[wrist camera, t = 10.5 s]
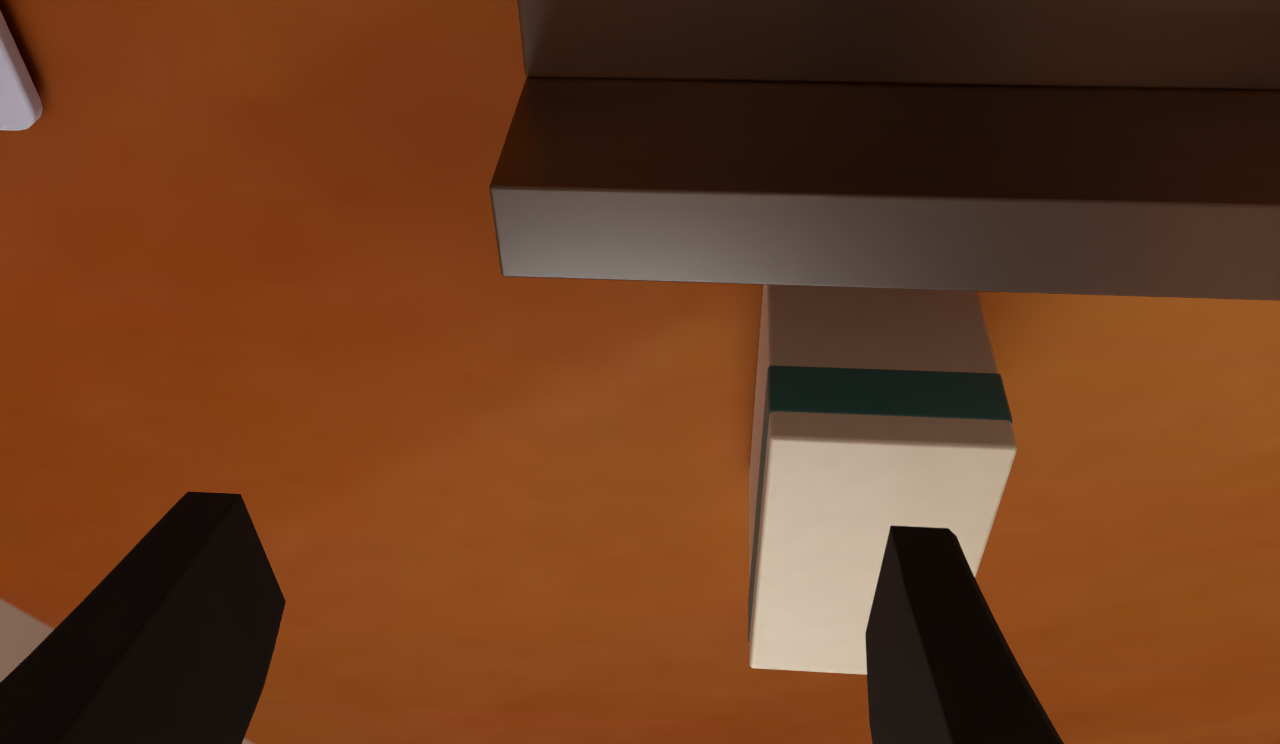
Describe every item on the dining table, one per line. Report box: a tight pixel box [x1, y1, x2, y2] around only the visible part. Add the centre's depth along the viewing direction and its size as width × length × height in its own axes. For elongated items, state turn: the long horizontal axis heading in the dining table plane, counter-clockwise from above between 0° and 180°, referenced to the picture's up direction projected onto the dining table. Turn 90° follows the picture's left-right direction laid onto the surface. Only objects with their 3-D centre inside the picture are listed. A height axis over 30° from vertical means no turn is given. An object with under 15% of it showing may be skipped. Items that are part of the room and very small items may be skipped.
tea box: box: [748, 284, 1017, 675], centre depth 21 cm, size 4×7×6 cm, turn 1°
